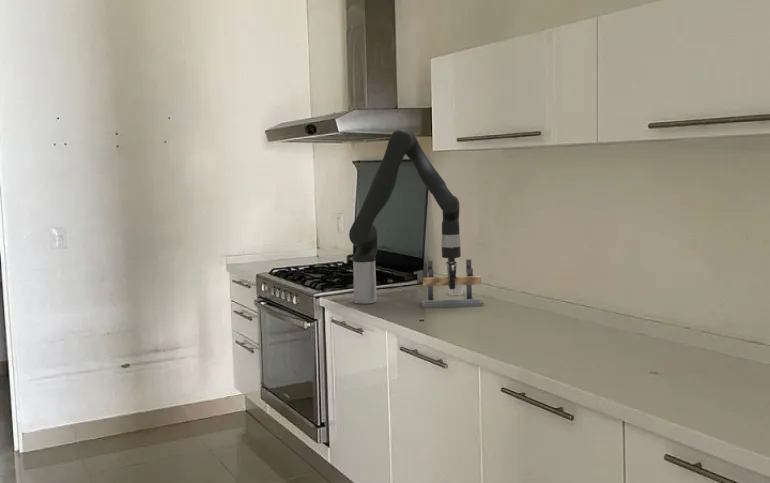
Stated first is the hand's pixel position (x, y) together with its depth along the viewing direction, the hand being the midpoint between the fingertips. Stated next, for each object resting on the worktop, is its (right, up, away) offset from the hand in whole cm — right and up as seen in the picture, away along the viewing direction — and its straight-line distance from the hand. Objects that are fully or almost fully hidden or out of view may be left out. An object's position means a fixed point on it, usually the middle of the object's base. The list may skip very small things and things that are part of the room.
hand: (451, 288), depth 304 cm
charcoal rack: (0, -6, +9) cm, 11 cm away
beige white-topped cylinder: (+4, -5, +25) cm, 26 cm away
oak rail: (0, +1, 0) cm, 1 cm away
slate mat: (0, -7, +1) cm, 7 cm away
